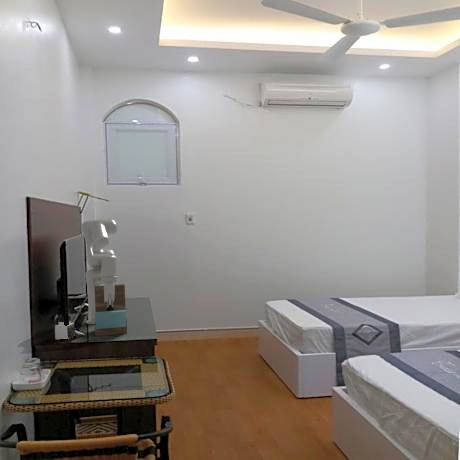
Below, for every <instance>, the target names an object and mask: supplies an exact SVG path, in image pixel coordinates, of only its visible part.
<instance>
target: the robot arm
mask: <svg viewBox="0 0 460 460" xmlns="http://www.w3.org/2000/svg"><path fill="white" fill-rule="evenodd" d="M117 231H118V225H117V222H116V221H115V220H114V219H111V218H110V219H96V220H95V219H94V220H91V219H90V220H86V221H83V222H82V223H81V232H82V236H83V238H84V240H85V245H86V259H87V264H88V266H89V267H90V269H88V270H86V272H85V282H86V287H87V304H88V306H87V308H88V319H87V320H86V324H87V325H95V288H94V286H102V285H103V286H104V302H105V303H106V302H107V311H114V309H113V302H114V296H115V285H116V283H117V282H118V278H117V277H118V274H117V263H118V259H117V256H116V254H115V252H114V250H112V249H109V248H105V247H107V246H108V245H109V244H110V238H109V235H116V233H117ZM104 248H105V249H104ZM108 294H109V295H108Z"/></svg>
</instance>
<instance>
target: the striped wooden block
mask: <svg viewBox="0 0 460 460" xmlns="http://www.w3.org/2000/svg"><path fill="white" fill-rule="evenodd" d="M125 285H126V284H125V283H124V284H115V296H114V302H113V309H114V311H117V310H126V309H127V308H126V287H125ZM94 288H95V312H104V311H107V302H106V303H105V302H104V285H100V286H94ZM108 295H109V294H108ZM94 331H95V337H101V336H102V335H103V336H112V335H114V336H115V335H124V334H128V323H127V317H126V327H116V328H104V329H96V324H94Z"/></svg>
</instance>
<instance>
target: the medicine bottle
mask: <svg viewBox="0 0 460 460" xmlns="http://www.w3.org/2000/svg"><path fill="white" fill-rule="evenodd" d="M68 319H69V325H67V326H65V325H64V317H63V316H62V314H59V315H58V317H57V320H58V321H57V322H58V324H55V325H54V334H55V336H54V338H55V340H60V339H68V340H70V339H72V338H74V337H73V336H75V337H76V329H75V323H74V322H72V319H71V314H69V315H68ZM71 337H72V338H71ZM69 338H70V339H69Z"/></svg>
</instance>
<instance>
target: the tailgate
mask: <svg viewBox="0 0 460 460" xmlns="http://www.w3.org/2000/svg"><path fill="white" fill-rule="evenodd" d="M126 318H127V311H126V310H117V311H104V312H95V324H96V329H104V328H116V327H126ZM95 324H94V325H95Z"/></svg>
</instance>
